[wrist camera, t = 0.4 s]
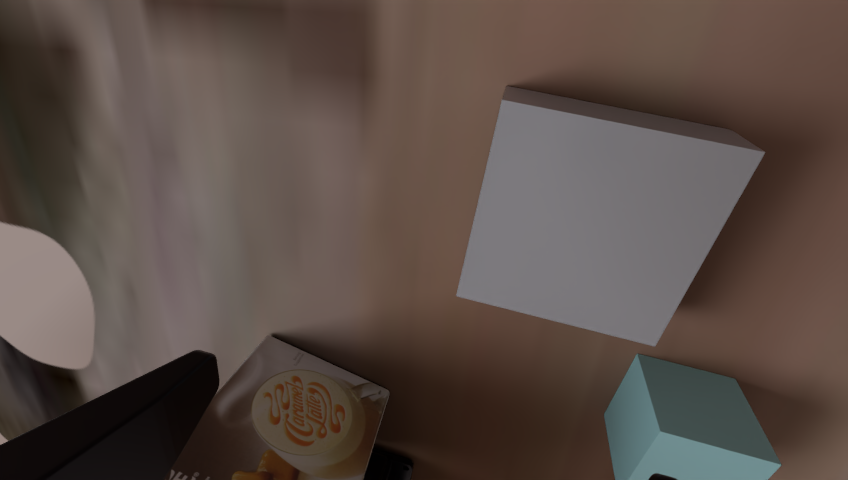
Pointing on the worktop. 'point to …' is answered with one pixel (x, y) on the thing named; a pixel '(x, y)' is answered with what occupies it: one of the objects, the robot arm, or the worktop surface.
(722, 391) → the teal cube
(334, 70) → the worktop surface
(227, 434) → the coffee box
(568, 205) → the stone plinth
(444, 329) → the worktop surface
